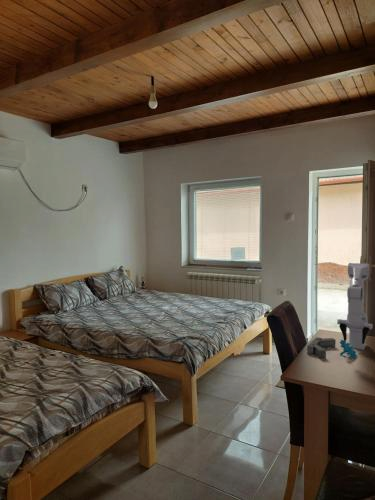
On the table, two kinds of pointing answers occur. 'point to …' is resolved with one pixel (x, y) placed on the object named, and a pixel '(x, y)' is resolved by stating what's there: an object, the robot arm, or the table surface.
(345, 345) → the teal lobed flat part
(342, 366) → the table surface
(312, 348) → the v block
